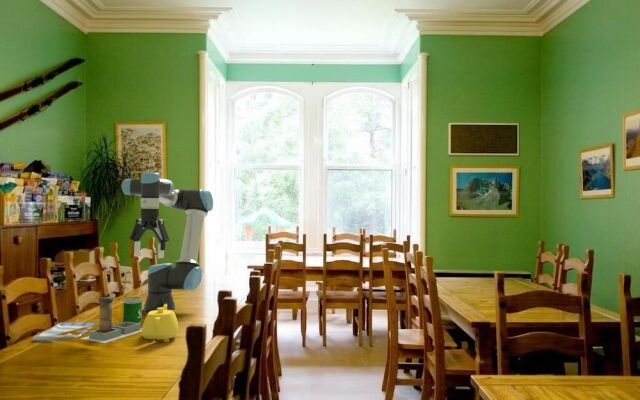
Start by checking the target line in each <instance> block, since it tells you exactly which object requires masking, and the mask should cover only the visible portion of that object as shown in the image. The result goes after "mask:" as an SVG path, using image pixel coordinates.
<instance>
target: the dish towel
mask: <svg viewBox="0 0 640 400" xmlns="http://www.w3.org/2000/svg"><path fill="white" fill-rule="evenodd" d="M97 325H99V322H98V323H97V322H59V323H57V324H55V325H54V326H53V327H51V328H50V329H47V330H45V331H43V332H41V333H39V334H35V336H33V337H32V339H31V341H33V342H67V340H66V339H78V338H80V337H81V336H82V335H83V334H85V333H87V332H88V330H89V329H93V327H94V326H97ZM92 326H93V327H92ZM82 328H85V329H84V330H83V329H82ZM78 329H82V330H78ZM74 330H76V332H78V333H79V334H72V333H70V332H71V331H74ZM67 332H68V333H67ZM63 333H67V334H63ZM59 334H62V335H59Z"/></svg>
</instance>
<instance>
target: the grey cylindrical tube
mask: <svg viewBox="0 0 640 400" xmlns="http://www.w3.org/2000/svg"><path fill="white" fill-rule="evenodd" d="M113 301H114V297H112V296H103V297H100V298H98V302H99V319H98V320H99V321H98V323H99V324H98V325H99V327H98V329H99V332H101V333H107V332H110V331H112V325H113Z"/></svg>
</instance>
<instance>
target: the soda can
mask: <svg viewBox="0 0 640 400" xmlns="http://www.w3.org/2000/svg"><path fill="white" fill-rule="evenodd" d="M122 305H123V306H122V307H123V309H122V323H123V322H126V321H127V322H133V323H140V324H142V323H143V322H142V321H143V320H142V318H143V317H142V316H143V315H142V314H143V313H142V312H143V299H142V298H141V297H139V296H128V297H126V298H125V299H124V300H123V303H122Z"/></svg>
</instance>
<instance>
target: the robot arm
mask: <svg viewBox="0 0 640 400" xmlns="http://www.w3.org/2000/svg"><path fill="white" fill-rule="evenodd" d="M160 176H161V175H160V173H158V172H143V173H142V174H141V177H140V178H125V179H123V181H122V184H121V190H122V192H123V194H124V195H127V196H137V197H140V217H141V218H135V223H134V227H133V229H132V231H131V234H130V237H129V240H131V241H133V249H134V250H133V256H134V257H141V238H142V237H143V235H144V234H145V232H146V231H147V230H149V231H152V232H153V233H154V235H155V237H156V238H157V240H158V243H157V244H158V245H157V259H164V258H165V250H166V242H170V238H169V234H168V233H167V229H166V226H165V219H158V218H159V217H160V209H159V208H160V203H161V204H162V205H163V206H165V207H168V208H170V209H175V210H179V211H184V212H185V214H186V215H187V217H186V222H185V228H184V232H183V233H184V234H183V239H182V244H181V250H180V251H181V252H180V257H179V259H178V260H177V261H176V262H175V265H173V263H171V262H168V263H167V262H166V263H165V262H164V263H160V264H159V263H157V264H153V265H150V266H149V267H148V271H147V295H146V299H145V302H144V304H143V311H144V312H147V313H149V312H150V311H154V310H157V308H160V307H163V306H164V304H167V310H172V311H174V310H175V309H176V304H175V301H174V296H173V290H181V291H194V290H197V288H198V287H199V286H200V284H201V282H202V279H203V270H202V268H201V267H200V263H199V262H198V258H199V252H200V251H199V250H200V244H201V239H202V234H203V233H202V230H203V227H204V219H205V217H207V216H208V213H209V212H211V211H212V210H213V207H214V199H213V195H212V193H211V191H210V190H208V189H205V188H204V189H202V188H199V189H197V188H191V189H190V188H182V189H181V188H178V189H175V185H174V183H173V182H172V180H170V179H167V178H161V177H160Z"/></svg>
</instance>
